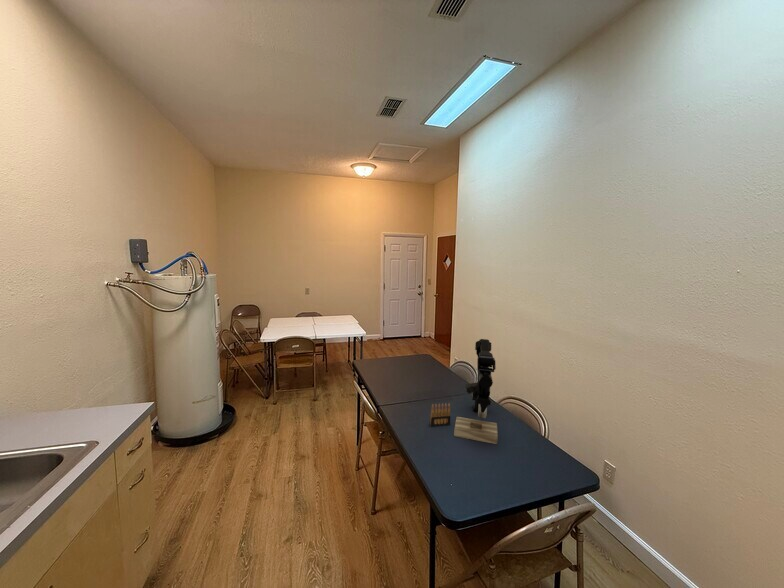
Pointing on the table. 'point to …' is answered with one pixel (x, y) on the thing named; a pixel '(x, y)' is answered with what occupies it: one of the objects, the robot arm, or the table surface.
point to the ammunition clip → (440, 415)
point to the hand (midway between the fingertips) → (482, 410)
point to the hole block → (476, 430)
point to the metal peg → (482, 415)
